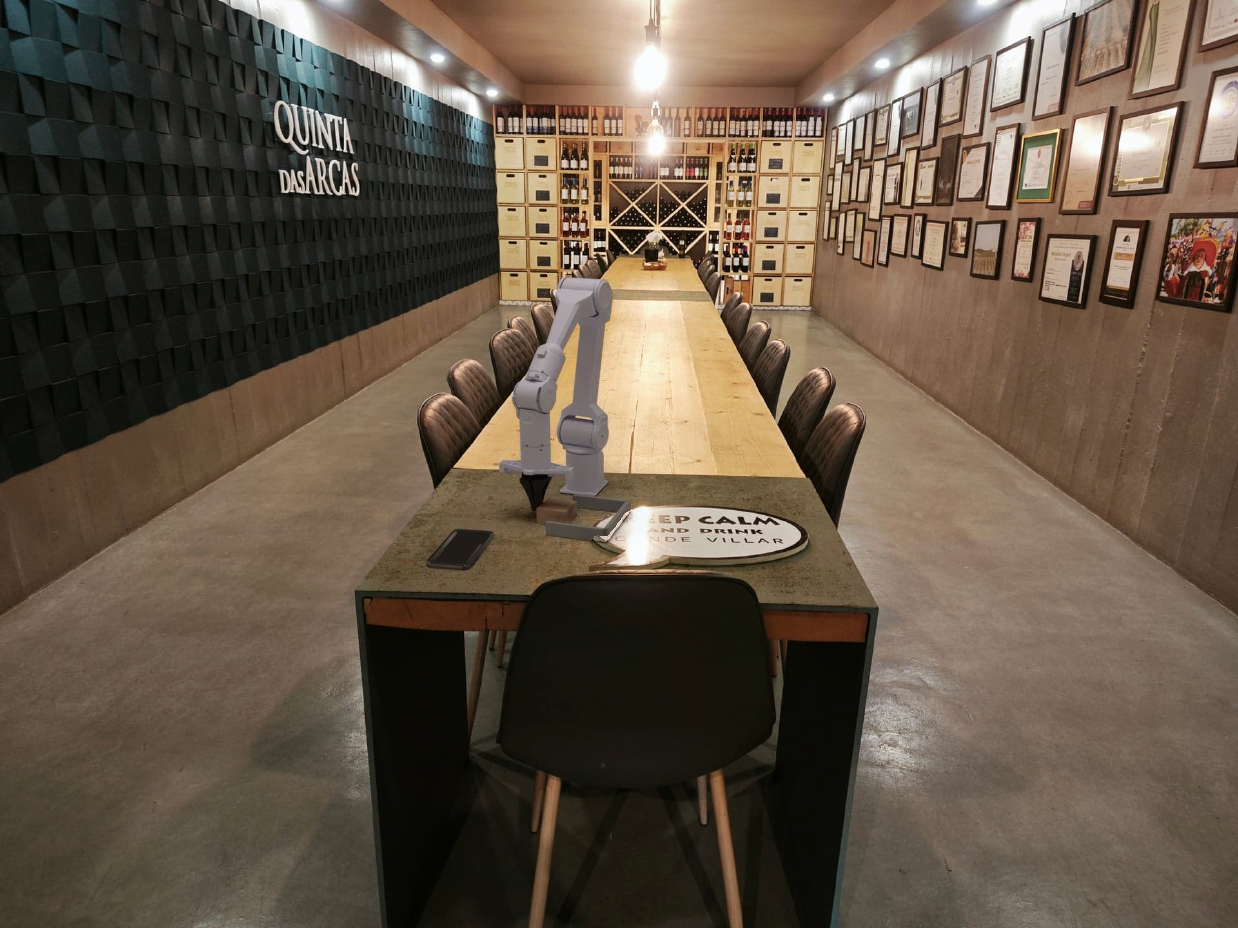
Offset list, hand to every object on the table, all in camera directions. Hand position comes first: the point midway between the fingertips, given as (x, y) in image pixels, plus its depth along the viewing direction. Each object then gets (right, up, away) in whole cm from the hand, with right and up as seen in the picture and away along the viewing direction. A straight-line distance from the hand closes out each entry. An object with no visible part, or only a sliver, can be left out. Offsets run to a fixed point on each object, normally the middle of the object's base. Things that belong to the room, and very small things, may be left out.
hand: (537, 509), depth 152 cm
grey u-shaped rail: (+10, -2, -3) cm, 11 cm away
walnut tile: (+4, -2, -1) cm, 4 cm away
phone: (-12, -7, -15) cm, 20 cm away
